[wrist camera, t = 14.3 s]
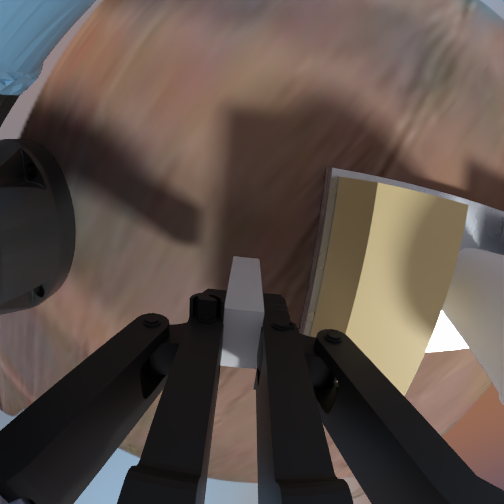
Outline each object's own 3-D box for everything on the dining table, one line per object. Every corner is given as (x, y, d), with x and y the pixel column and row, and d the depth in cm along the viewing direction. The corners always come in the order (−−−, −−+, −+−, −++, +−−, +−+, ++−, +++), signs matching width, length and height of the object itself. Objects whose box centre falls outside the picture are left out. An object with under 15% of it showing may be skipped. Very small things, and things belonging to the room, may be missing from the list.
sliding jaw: (306, 350, 21) (321, 405, 16) (339, 176, 18) (377, 182, 12) (374, 351, 22) (403, 398, 16) (415, 192, 18) (468, 205, 12)
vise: (296, 344, 23) (311, 409, 16) (326, 167, 19) (368, 169, 12) (499, 336, 24) (534, 368, 17) (534, 223, 20) (579, 241, 13)
